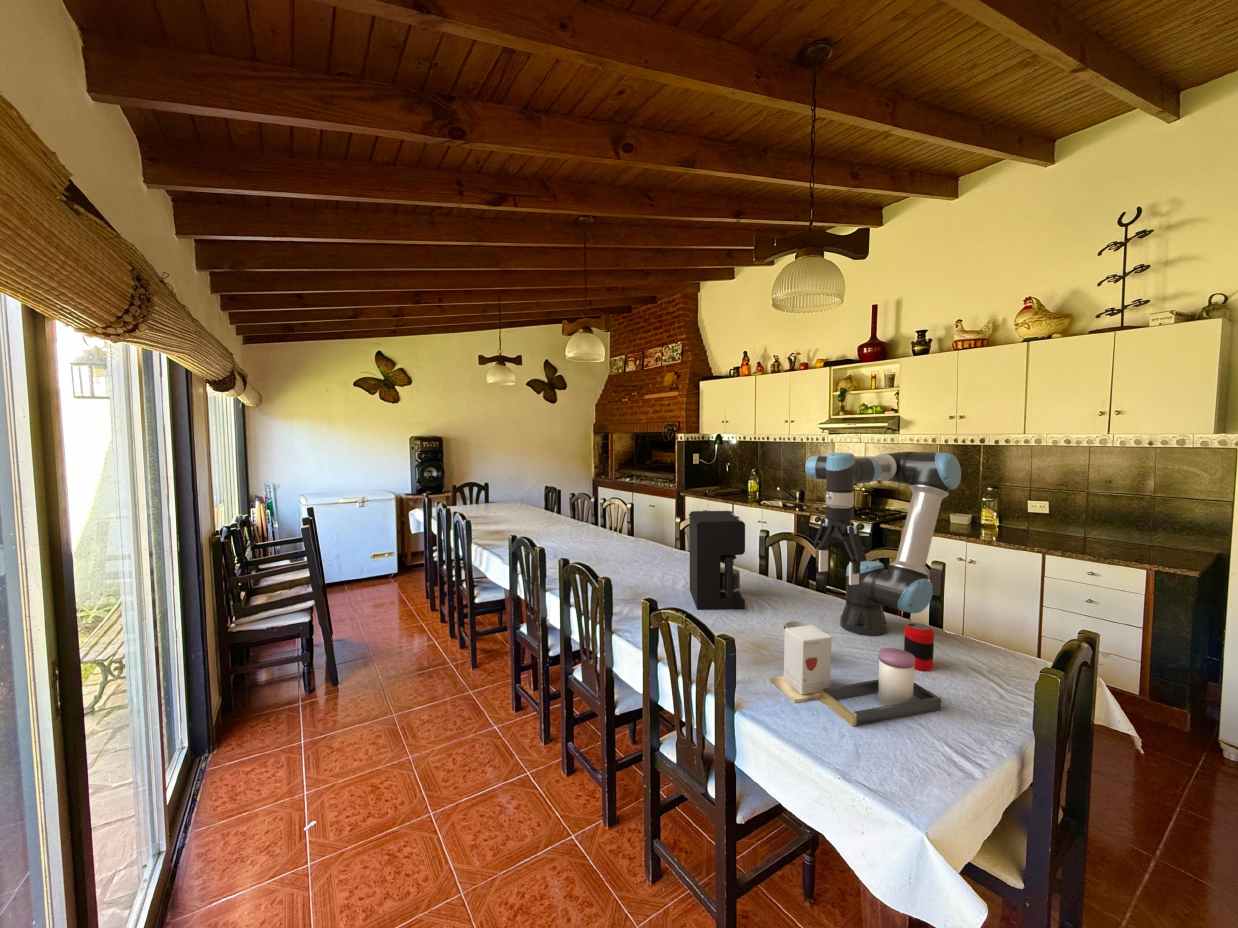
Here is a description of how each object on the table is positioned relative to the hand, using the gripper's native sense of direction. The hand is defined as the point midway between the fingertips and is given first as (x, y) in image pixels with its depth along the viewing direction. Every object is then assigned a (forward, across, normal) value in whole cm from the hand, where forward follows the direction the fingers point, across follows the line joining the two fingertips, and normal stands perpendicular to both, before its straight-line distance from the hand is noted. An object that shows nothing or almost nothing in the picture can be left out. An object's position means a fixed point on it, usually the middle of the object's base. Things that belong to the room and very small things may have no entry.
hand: (837, 577), depth 155 cm
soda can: (+27, +7, +23) cm, 36 cm away
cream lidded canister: (+27, +22, +1) cm, 35 cm away
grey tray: (+27, +22, -4) cm, 35 cm away
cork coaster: (+27, +9, -18) cm, 33 cm away
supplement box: (+26, +9, -17) cm, 32 cm away
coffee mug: (+27, -9, -7) cm, 29 cm away
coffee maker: (+27, -62, -9) cm, 68 cm away
